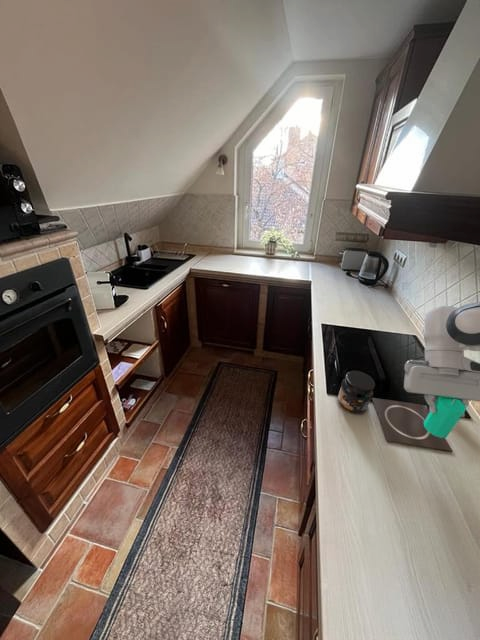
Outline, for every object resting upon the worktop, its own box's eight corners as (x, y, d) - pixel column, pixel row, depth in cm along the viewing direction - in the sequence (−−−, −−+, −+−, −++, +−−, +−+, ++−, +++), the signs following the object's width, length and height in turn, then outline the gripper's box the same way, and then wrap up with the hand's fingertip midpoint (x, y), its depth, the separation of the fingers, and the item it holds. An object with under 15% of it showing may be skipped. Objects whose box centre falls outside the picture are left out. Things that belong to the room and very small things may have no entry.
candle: (418, 423, 73) (435, 393, 67) (432, 417, 75) (450, 388, 69) (438, 440, 69) (459, 411, 63) (453, 434, 71) (474, 404, 64)
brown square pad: (425, 406, 94) (426, 405, 93) (451, 452, 78) (452, 450, 78) (371, 398, 96) (371, 397, 96) (386, 441, 81) (387, 440, 80)
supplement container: (330, 397, 96) (337, 373, 90) (351, 389, 100) (360, 366, 94) (351, 419, 88) (360, 394, 82) (373, 410, 92) (383, 385, 85)
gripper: (410, 357, 70) (412, 409, 66) (493, 367, 67) (499, 422, 64) (399, 359, 76) (399, 408, 73) (474, 368, 73) (479, 419, 70)
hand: (447, 414), depth 68 cm, fingers closed on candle, 5 cm apart
